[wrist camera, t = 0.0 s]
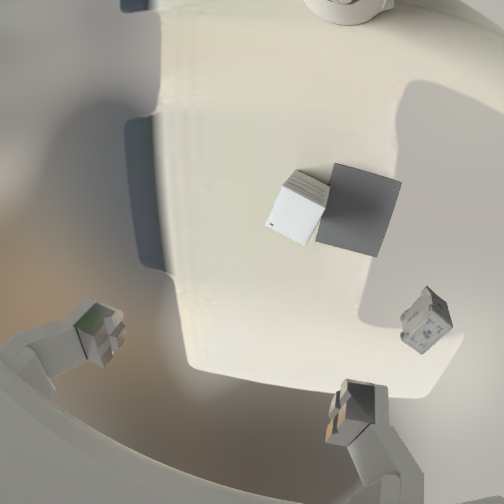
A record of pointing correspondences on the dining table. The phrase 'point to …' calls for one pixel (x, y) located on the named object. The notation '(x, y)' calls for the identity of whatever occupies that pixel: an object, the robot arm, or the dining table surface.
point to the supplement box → (298, 207)
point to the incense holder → (425, 321)
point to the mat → (357, 210)
